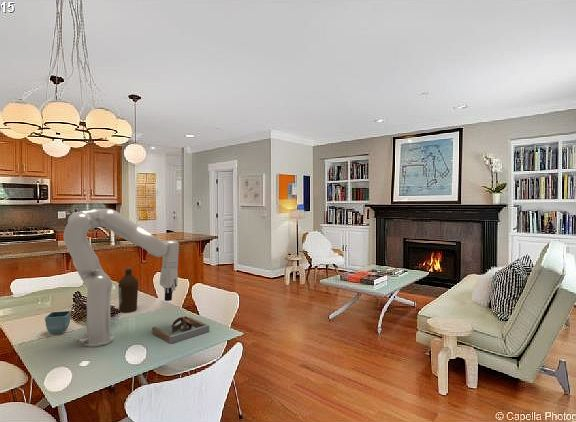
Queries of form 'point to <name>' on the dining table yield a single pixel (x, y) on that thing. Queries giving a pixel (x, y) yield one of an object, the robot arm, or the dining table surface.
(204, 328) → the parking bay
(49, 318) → the flower pot
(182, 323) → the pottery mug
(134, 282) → the olive oil
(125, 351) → the dining table surface
